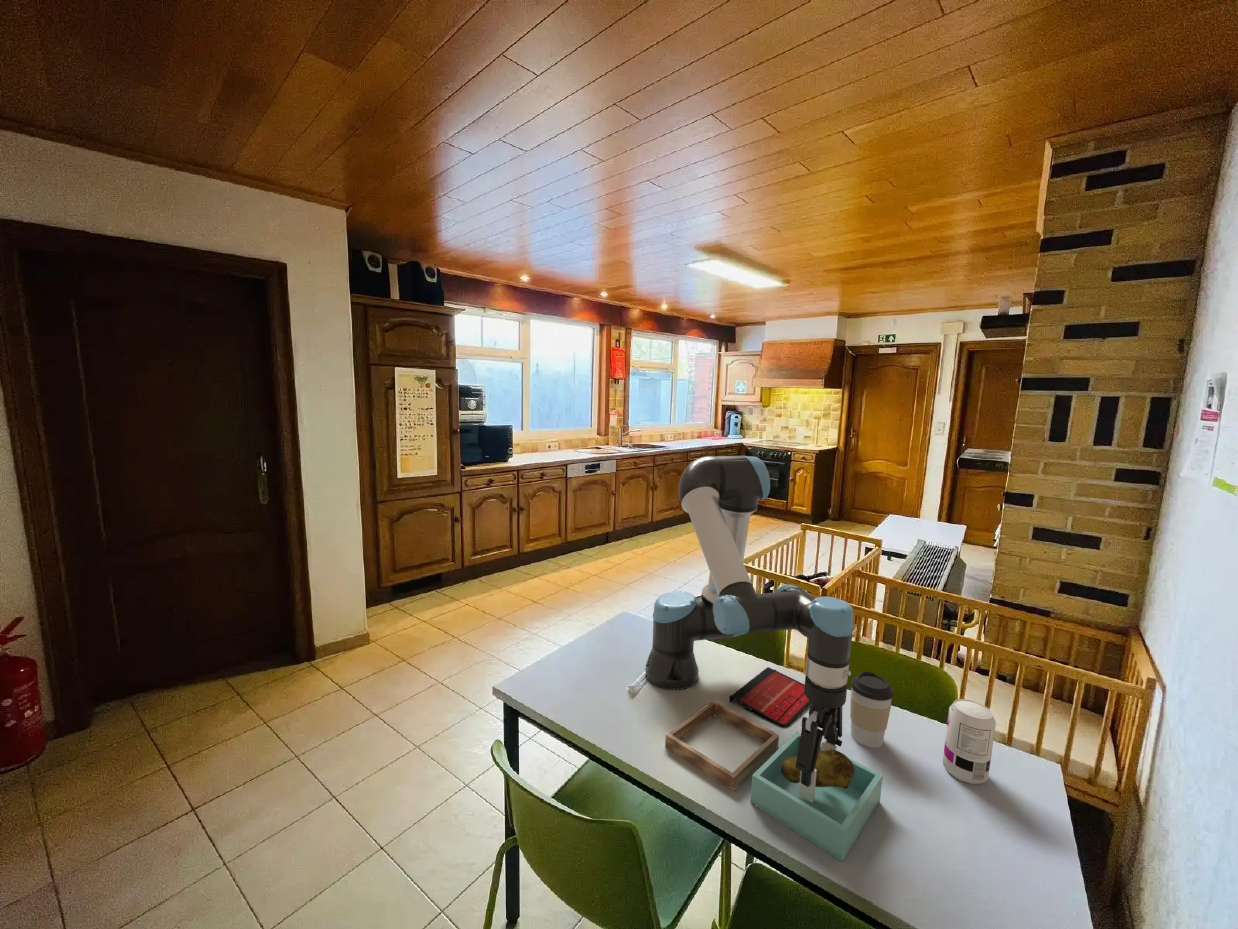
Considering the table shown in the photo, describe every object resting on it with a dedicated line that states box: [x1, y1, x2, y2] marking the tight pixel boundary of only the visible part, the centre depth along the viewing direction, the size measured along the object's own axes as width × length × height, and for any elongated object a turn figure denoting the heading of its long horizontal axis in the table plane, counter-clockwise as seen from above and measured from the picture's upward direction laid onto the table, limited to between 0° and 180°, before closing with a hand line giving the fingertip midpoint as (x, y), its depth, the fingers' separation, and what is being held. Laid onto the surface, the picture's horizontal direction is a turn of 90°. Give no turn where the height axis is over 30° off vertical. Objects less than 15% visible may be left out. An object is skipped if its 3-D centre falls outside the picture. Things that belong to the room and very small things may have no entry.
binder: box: [729, 666, 811, 728], centre depth 137 cm, size 16×2×21 cm
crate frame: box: [664, 700, 780, 791], centre depth 117 cm, size 18×19×3 cm
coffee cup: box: [849, 671, 894, 748], centre depth 121 cm, size 9×9×15 cm
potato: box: [781, 749, 855, 789], centre depth 101 cm, size 8×13×8 cm, turn 53°
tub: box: [750, 731, 884, 863], centre depth 102 cm, size 18×19×6 cm
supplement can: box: [942, 698, 997, 785], centre depth 110 cm, size 8×8×15 cm
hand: (816, 784), depth 101 cm, fingers closed on potato, 8 cm apart
